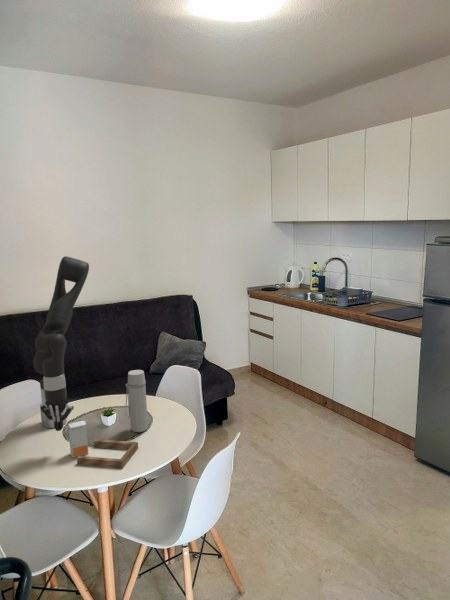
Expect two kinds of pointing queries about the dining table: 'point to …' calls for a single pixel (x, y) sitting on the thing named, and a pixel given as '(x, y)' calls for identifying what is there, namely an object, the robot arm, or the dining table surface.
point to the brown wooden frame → (110, 462)
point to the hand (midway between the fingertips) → (59, 429)
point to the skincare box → (78, 438)
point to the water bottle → (137, 400)
